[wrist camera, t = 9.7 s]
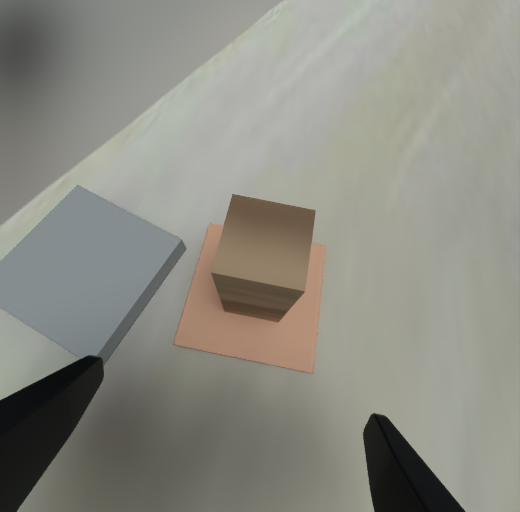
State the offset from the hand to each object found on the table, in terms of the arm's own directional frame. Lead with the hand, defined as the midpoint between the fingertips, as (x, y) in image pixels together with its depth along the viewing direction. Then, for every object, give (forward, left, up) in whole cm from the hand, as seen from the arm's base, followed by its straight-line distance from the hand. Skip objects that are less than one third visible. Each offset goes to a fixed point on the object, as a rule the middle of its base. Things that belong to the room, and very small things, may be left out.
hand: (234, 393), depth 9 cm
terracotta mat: (+2, -6, -13) cm, 14 cm away
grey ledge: (+15, -1, -13) cm, 20 cm away
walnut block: (+2, -6, -12) cm, 14 cm away
